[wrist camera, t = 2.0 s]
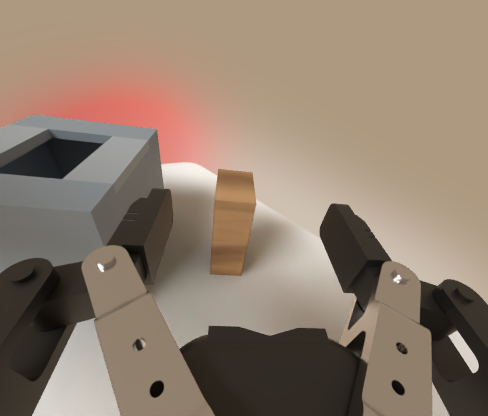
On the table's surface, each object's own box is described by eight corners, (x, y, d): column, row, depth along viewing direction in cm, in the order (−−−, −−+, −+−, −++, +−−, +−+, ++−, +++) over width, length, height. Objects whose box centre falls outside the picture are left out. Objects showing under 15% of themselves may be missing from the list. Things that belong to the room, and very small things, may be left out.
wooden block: (240, 275, 29) (256, 203, 21) (210, 274, 28) (214, 199, 21) (240, 241, 33) (252, 172, 26) (213, 239, 33) (218, 169, 26)
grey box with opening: (129, 312, 23) (90, 212, 15) (-18, 308, 22) (-158, 192, 13) (166, 214, 36) (156, 129, 27) (74, 207, 34) (33, 114, 26)
